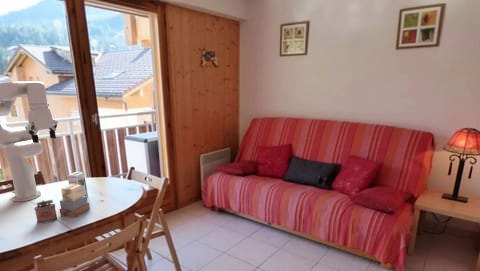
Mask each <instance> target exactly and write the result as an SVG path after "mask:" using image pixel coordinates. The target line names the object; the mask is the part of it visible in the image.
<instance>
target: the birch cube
mask: <svg viewBox="0 0 480 271" xmlns="http://www.w3.org/2000/svg"><path fill="white" fill-rule="evenodd" d="M61 195H62V196H61V197H62V200H65V201H75V200H77V199H79V198H80V197H82V196H83V193H82V186H81V185H78V184H70V185H69V184H68V185H66V186H64V187H62V188H61Z"/></svg>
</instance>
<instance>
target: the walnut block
mask: <svg viewBox="0 0 480 271" xmlns="http://www.w3.org/2000/svg"><path fill="white" fill-rule="evenodd" d="M58 210H59V214H60V217H67V218H73V219H74V218H75V219H76V218H79V216H81V215H83V214H84V213H86V212H87V211H90V210H91V208H90V202H88V201H87V204H85V205H84V206H82V207H80V208H78V209H76V210H74V211H71V210H66V209H61V208H59V209H58Z"/></svg>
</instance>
